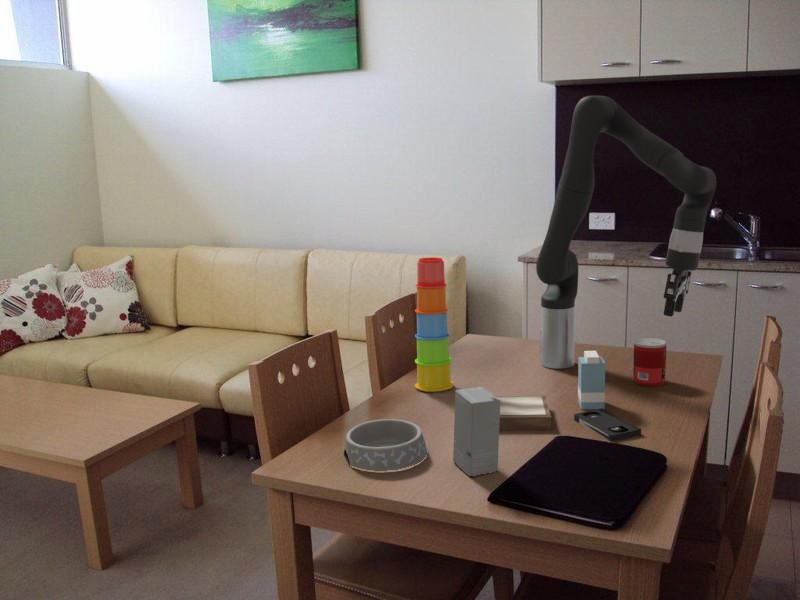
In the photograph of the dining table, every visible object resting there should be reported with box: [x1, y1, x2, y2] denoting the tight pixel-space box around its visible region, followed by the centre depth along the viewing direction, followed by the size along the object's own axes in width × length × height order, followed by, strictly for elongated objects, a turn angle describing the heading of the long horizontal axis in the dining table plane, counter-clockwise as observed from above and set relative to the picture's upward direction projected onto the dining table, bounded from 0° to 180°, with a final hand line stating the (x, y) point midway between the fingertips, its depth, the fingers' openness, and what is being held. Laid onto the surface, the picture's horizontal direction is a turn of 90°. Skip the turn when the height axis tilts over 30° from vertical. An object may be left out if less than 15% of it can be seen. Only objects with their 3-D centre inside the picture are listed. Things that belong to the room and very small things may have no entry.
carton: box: [577, 350, 606, 410], centre depth 185 cm, size 6×6×13 cm
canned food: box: [632, 337, 667, 387], centre depth 200 cm, size 8×8×11 cm
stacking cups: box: [414, 257, 454, 393], centre depth 201 cm, size 10×10×35 cm
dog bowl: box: [343, 418, 428, 471], centre depth 162 cm, size 17×18×5 cm
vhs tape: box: [573, 408, 642, 442], centre depth 172 cm, size 14×8×2 cm, turn 21°
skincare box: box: [452, 386, 500, 477], centre depth 153 cm, size 8×7×16 cm
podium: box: [494, 395, 552, 431], centre depth 179 cm, size 14×14×3 cm
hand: (672, 313), depth 189 cm, fingers open, 8 cm apart
